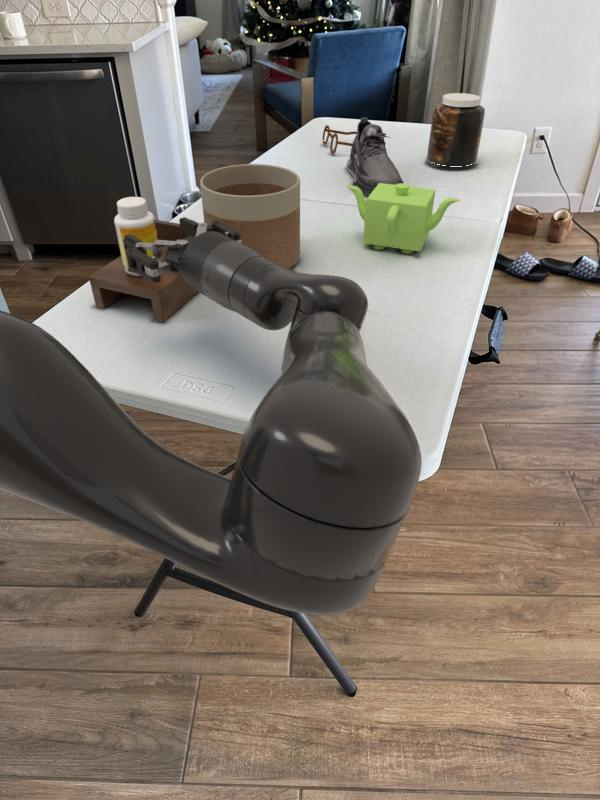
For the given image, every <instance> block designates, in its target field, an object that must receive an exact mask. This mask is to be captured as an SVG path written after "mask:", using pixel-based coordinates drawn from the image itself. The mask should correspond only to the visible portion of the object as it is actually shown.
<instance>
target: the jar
mask: <svg viewBox="0 0 600 800" xmlns="http://www.w3.org/2000/svg"><path fill="white" fill-rule="evenodd" d="M480 100H481V97H480V96H479V95H476V94H473V93H467V92H466V93H465V92H452V93H445V94H443V95H442V101H441V102H440V103H438V104H436V105H435V106H434V109H433V112H432V118H431V124H430V132H429V140H428V146H427V154H426V164H427V165H428V166H430V167H432V168H435V169H439V170H443V171H444V170H445V171H467V170H470V169H473V168H475V166H476V164H477V160H478V154H479V148H480V143H481V139H482V133H483V128H484V120H485V115H486V109H485V107H484V106H483V105H481V104H480ZM427 159H428V160H429V161H430V162H429V161H428V160H427ZM431 162H433V163H431ZM475 162H476V163H475ZM434 163H435V164H434ZM473 163H475V164H473ZM437 164H440V165H437ZM470 164H472V165H470ZM442 165H446V166H442ZM466 165H469V166H466ZM450 166H462V167H450Z"/></svg>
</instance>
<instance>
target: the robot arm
mask: <svg viewBox="0 0 600 800" xmlns="http://www.w3.org/2000/svg"><path fill="white" fill-rule="evenodd" d="M179 224H180V229H181V232H182V234H184V235H186V236H188V237H186V238H184V239H182V240H177V241H167V240H156V241H155V242H154V243H144V242H143V241H141V240H139V239H138V238H136V237H134V236H132V235H131V234H128V235H125V236H124V240H123V243H124V248H125V252H126V257H127V262H128V267H129V270H131V271H133V272H135V273H137V274H138V275H140V276H142V277H144V278H146V279H147V280H149V281H151V282H154V283H156V282H160V281H161V276H160V274H163V273H166V272H168V271H169V272H171V273H175V274H179V275H181V276H182V277H183V279H184V280H185V281H186V282H187V284H188V285H189V286H190V287H192V288H193V289H195V290H197V291H198V293H200V294H201V295H203V296H204V297H206V298H208V299H209V300H211V301H213V302H215V303H216V304H218V305H220V306H221V307H222V308H225V309H227V310H229V311H232V312H235V313H237V314H239V315H240V316H242V317H243V318H244V319H246V320H248V321H250V322H252V323H253V324H254V325H256V326H258V327H260V328H262V329H264V330H267V331H279V330H283V329H284V328H286V327H287V326H289V325H290V326H289V330H288V332H287V333H288V334H287V336H286V340H285V344H284V348H283V355H282V356H283V357H282V363H281V375H280V377H278V379H276V381H275V382H274V383H273V384H272V386H271V387H270V388H269V390H268V391H267V392H266V394H265V395H264V396H263V398H262V399H261V401H260V402H259V404H258V405H257V406H256V408H255V410H254V412H253V413H252V414H251V416H250V419H249V420H248V422H247V424H246V426H245V429H244V432H243V435H242V438H241V440H240V444H239V449H238V454H237V457H236V461H235V464H234V467H233V471H232V476H231V477H228V476H225V475H222V474H220V473H218V472H215V471H213V470H211V469H208V468H206V467H204V466H202V465H200V464H197V463H196V462H194V461H192V460H189V459H187V458H185V457H183V456H181V455H179V454H177V453H176V452H174V451H172V450H171V449H169V448H168V447H166V446H165V445H163V444H162V443H161V442H159V441H158V440H156V439H155V438H153V436H151V435H150V434H149V433H147V432H146V430H144V429H143V428H141V426H140V425H138V423H137V422H136V421H135V420H134V419H133V418H132V417H131V416H130V415H129V414H128V413H127V412H126V411H125V410H124V409H123V407H121V405H120V404H119V403H118V402H117V401H116V399H115V398H114V397H113V396H112V395H111V394H110V393H109V392H108V390H107V389H106V388H105V387H104V386H103V384H101V383H100V381H98V379H97V378H96V377H95V375H93V373H91V371H89V369H87V368H86V366H85V365H84V364H83V363H81V361H80V360H79V359H78V358H77V357H76V356H75V355H74V354H73V353H72V352H71V351H70V350H69V349H68V348H67V347H65V346H64V344H62V343H61V342H60V341H59V340H58V339H57V338H55V337H54V336H53V334H51V333H50V332H48V331H46V330H45V329H44V328H42V327H41V326H39V325H37V324H35V323H33V322H31V321H29V320H27V319H26V318H23V317H20V316H18V315H15V314H12V313H9V312H7V311H3V310H0V491H3V492H5V493H8V494H11V495H14V496H17V497H19V498H22V499H24V500H27V501H30V502H32V503H34V504H38V505H40V506H42V507H45V508H48V509H51V510H53V511H55V512H58V513H61V514H64V515H66V516H69V517H72V518H74V519H77V520H79V521H82V522H84V523H87V524H89V525H91V526H94V527H96V528H99V529H101V530H103V531H106V532H108V533H110V534H112V535H115V536H117V537H119V538H121V539H124V540H125V541H128V542H130V543H132V544H134V545H136V546H138V547H141V548H143V549H145V550H147V551H149V552H152V553H153V554H156V555H158V556H160V557H162V558H164V559H166V560H168V561H170V562H172V563H175V564H177V565H179V566H181V567H183V568H185V569H187V570H189V571H191V572H194V573H195V574H198V575H199V576H201V577H204V578H205V579H208V580H210V581H212V582H215V583H216V584H219V585H221V586H223V587H225V588H227V589H230V590H232V591H233V592H236V593H238V594H241V595H244V596H245V597H247V598H250V599H253V600H255V601H257V602H261V603H263V604H265V605H268V606H271V607H275V608H278V609H281V610H284V611H285V610H286V611H289V612H294V613H298V614H305V615H310V616H334V615H335V616H336V615H339V614H343V613H348V612H350V611H353V610H354V609H356V608H358V607H360V606H362V604H364V603H365V602H366V601H367V599H368V598H369V597H370V595H371V594H372V592H373V591H374V590H375V587H376V586H377V584H378V582H379V580H380V577H381V575H382V573H383V570H384V568H385V566H386V564H387V561H388V559H389V557H390V554H391V552H392V550H393V548H394V546H395V543H396V540H397V537H398V536H399V533H400V531H401V529H402V527H403V523H404V521H405V519H406V516H407V514H408V511H409V509H410V507H411V504H412V501H413V499H414V496H415V494H416V490H417V488H418V485H419V480H420V476H421V471H422V463H423V462H422V452H421V449H420V444H419V441H418V438H417V435H416V433H415V431H414V429H413V427H412V425H411V423H410V421H409V420H408V417H406V415H405V413H404V411H402V409H401V408H400V406H399V404H398V403H397V402H396V401H395V399H394V398H393V397H392V396H391V394H390V393H389V391H388V390H387V388H386V387H385V386H384V385H383V383H382V382H381V380H380V379H379V378H378V377H377V375H376V373H374V371H372V369H371V368H370V367H369V365H368V362H367V355H366V351H365V344H364V340H363V338H362V335H361V331H362V328H363V325H364V322H365V319H366V317H367V314H368V309H369V300H368V297H367V295H366V292H365V291H364V290H363V288H362V287H361V286H360V285H359V283H357V282H356V281H354V280H353V279H350V278H348V277H344V276H339V275H334V274H333V275H332V274H319V273H318V274H316V273H315V274H314V273H305V272H301V271H297V270H292V269H291V268H289V269H287V268H285V267H283V266H281V265H279V264H277V263H275V262H273V261H271V260H269V259H267V258H265V257H263V256H262V255H261V254H259V253H258V252H256V251H255V250H253V249H251V248H249V247H247V246H245V245H243V244H242V242H241V233H240V232H239V231H237V230H235V229H233V228H231V227H230V226H228V225H226V224H224V223H222V222H220V221H213V222H212V225H208V226H207V223H204V222H197V221H195V220H193V219H189V218H188V217H185V216H183V217H180V218H179ZM162 248H167V252H166V261H165V260H164V258H163V252H162ZM146 250H149V251H152V252H153V255H154V256H153V257H150V256H148V255H147V251H146Z"/></svg>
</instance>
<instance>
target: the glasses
mask: <svg viewBox="0 0 600 800" xmlns="http://www.w3.org/2000/svg"><path fill="white" fill-rule="evenodd" d="M326 134H327V136H326ZM339 135H344V136H345V135H346V136H349V135H357V131H341V130H336V129H331V128H330V125H327V124H326V125H325V126H324V128H323V132H322V144H323V145H324V146H325V145H327V144H328V141H329V138H330V139H331V140H330V145H329V150H330V154H333V155H334V154H335V153H336V151H337V150H338V149H337V148H338V145H342V146H347V147H352V146H353V142H350V143H349V142H345V141H339ZM325 136H326V137H325ZM325 138H326V139H325ZM323 140H325V141H323ZM334 140H335V145H334V148H333V144H334Z"/></svg>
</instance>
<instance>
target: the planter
mask: <svg viewBox="0 0 600 800" xmlns="http://www.w3.org/2000/svg"><path fill="white" fill-rule="evenodd" d="M199 183H200V184H199V186H200V193H201V194H200V196H201V204H202V205H201V206H202V214H203V223H207V226H208V225H212V222H213V221H220V222H222V223H224V224H226V225H228V226H230V227H231V228H233V229H235V230H237V231H239V232H240V233H241V242H242V244H243V245H245V246H247V247H249V248H251V249H253V250H255V251H256V252H258V253H259V254H261V255H262V256H263V257H265V258H267V259H269V260H271V261H273V262H275V263H277V264H279V265H281V266H283V267H285V268H287V269H292V268H293V267H294V266H295V265H296V264H297V263H298V262H299V260H300V257H301V177H300V176H299V175H298V174H297V172H295V171H293V170H292V169H289V168H286V167H282V166H278V165H273V164H263V163H244V164H234V165H233V164H232V165H227V166H223V167H218V168H215V169H213V170H210V171H208V172H207V173H205V174H204V175H202V177H201V178H200V181H199Z"/></svg>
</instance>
